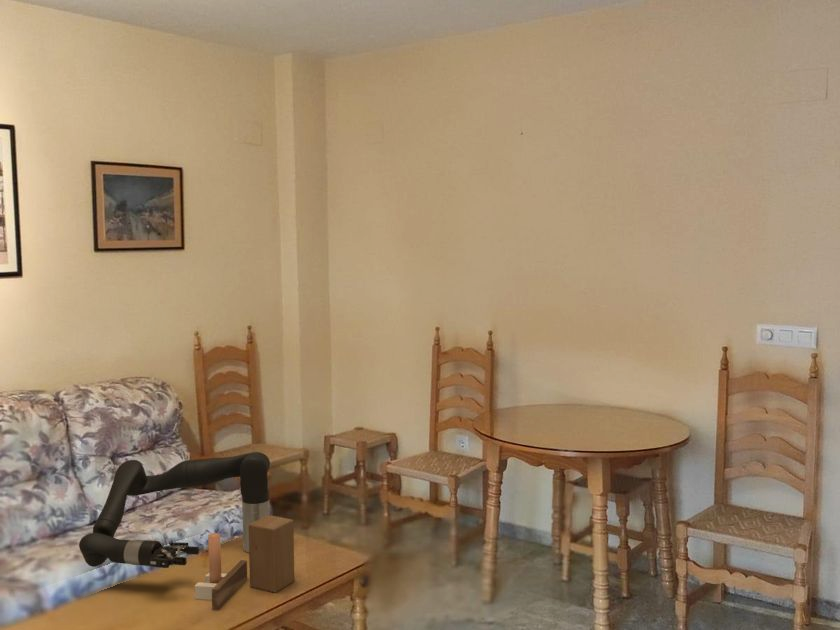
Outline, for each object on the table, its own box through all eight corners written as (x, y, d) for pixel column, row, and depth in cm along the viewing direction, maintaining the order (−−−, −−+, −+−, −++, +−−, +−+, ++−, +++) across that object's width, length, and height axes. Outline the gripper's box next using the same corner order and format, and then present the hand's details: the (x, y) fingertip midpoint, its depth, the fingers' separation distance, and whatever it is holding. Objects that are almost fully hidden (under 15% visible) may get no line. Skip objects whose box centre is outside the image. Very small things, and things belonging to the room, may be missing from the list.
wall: (212, 609, 238) (211, 589, 237) (241, 578, 259) (240, 560, 259) (218, 609, 237) (218, 589, 237) (247, 578, 259) (246, 560, 258)
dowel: (218, 588, 252) (217, 532, 250) (223, 592, 249) (222, 535, 247) (208, 592, 249) (206, 534, 248) (213, 596, 247) (211, 538, 245)
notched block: (195, 598, 245) (194, 585, 245) (208, 584, 255) (208, 572, 254) (220, 600, 244) (220, 587, 243) (233, 586, 253) (232, 574, 253)
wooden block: (249, 587, 253) (247, 524, 251) (269, 575, 262) (268, 514, 260) (275, 593, 248) (274, 529, 247) (295, 581, 257) (294, 519, 255)
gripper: (130, 549, 245) (181, 552, 242) (153, 532, 259) (202, 535, 256) (131, 573, 245) (182, 577, 243) (154, 555, 259) (202, 559, 257)
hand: (192, 556), depth 249 cm, fingers open, 8 cm apart
